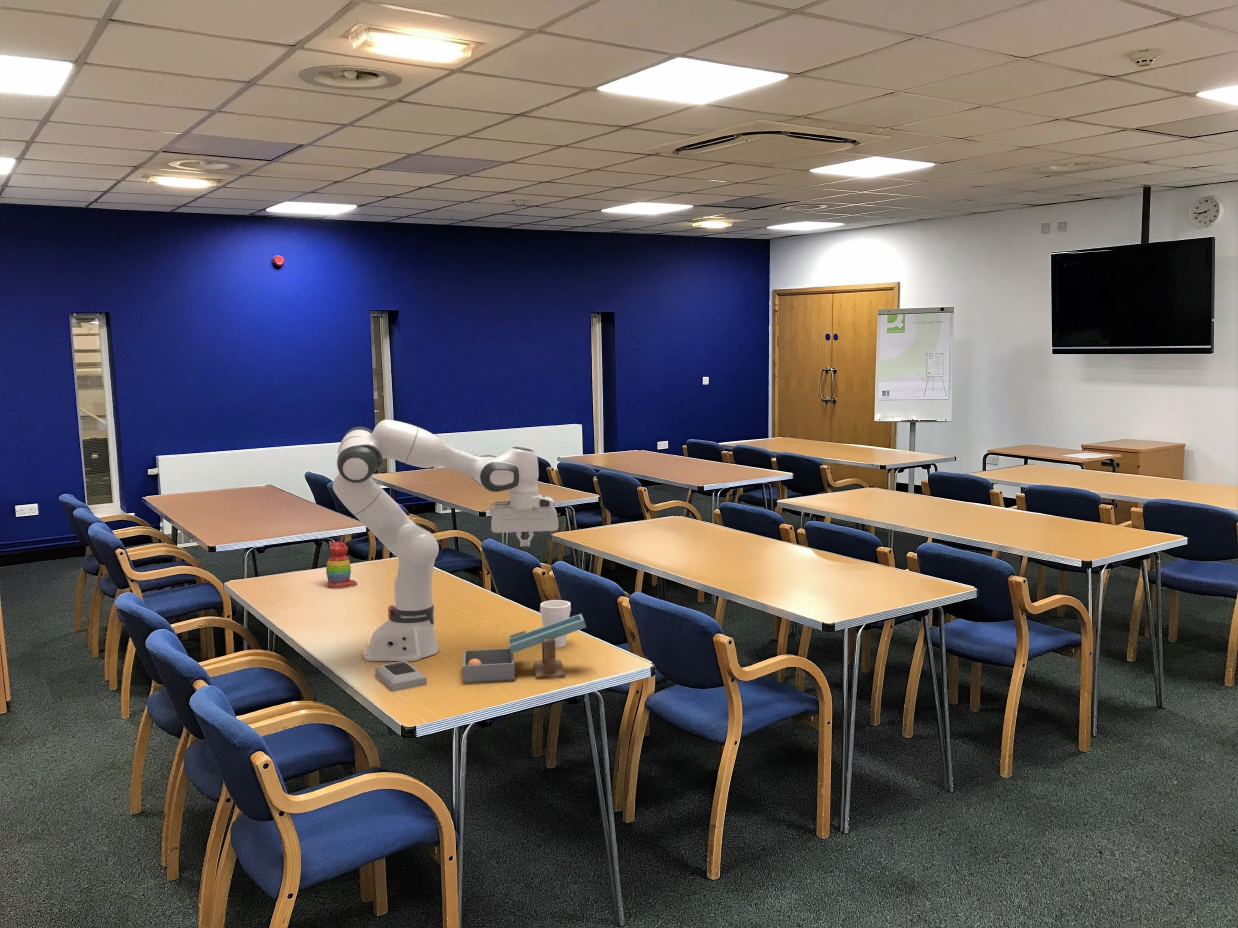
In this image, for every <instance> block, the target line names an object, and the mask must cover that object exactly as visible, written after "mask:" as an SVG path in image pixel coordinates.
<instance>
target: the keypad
mask: <svg viewBox="0 0 1238 928" xmlns="http://www.w3.org/2000/svg"><path fill="white" fill-rule="evenodd" d="M374 674H375V675H374V676H376V678H377V679H379V681H381V682H382V683H383V684H384V685H385V686H386V687H387V688H389V689H390V691H392V692H397V691H402V690H406V689H407V690H408V689H412V688H417V687H418V688H419V687H422V686H427V684H428V681H427V676H426V675H425V674H423V673H422V672H421V671H419V670H418V669H417V668H416V667H415V666H413V665H412V664H411V663H409V661H394V662H391V663H386V664H385V663H384V664H380V665H378V666H377V667H375V670H374Z"/></svg>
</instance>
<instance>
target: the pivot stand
mask: <svg viewBox="0 0 1238 928" xmlns="http://www.w3.org/2000/svg"><path fill="white" fill-rule="evenodd" d="M541 654H542V655H541V656H542V657H541V658H542V659H540V660H533V668H534V674H535V679H536V680H546V679H560V678H561V679H563V678H566V673H565V669H564V666H563V661H562V659H560V658H559V659H556V648H555V639H552V638H548V639H544V642H543V643H541Z"/></svg>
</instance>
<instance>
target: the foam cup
mask: <svg viewBox="0 0 1238 928" xmlns="http://www.w3.org/2000/svg"><path fill="white" fill-rule="evenodd" d="M539 605H540V606H539V611H540V614H541V615H540V616H541V620H542V621H541V623H542V627H544V626H547V625H550V624H553V623H556V622H559V621H562V620H564V619H567V618H570V617H571V616H570V615H571V610H572V608H571V602H570V601H568V600H561V599H560V600H559V599H550V600H546V601H543V602H541V603H540V604H539ZM567 641H568V634H566V635H563V636H560V637H557V638H555V649H558V648H563V647H565V646H567Z"/></svg>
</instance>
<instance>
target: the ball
mask: <svg viewBox="0 0 1238 928" xmlns="http://www.w3.org/2000/svg"><path fill="white" fill-rule="evenodd" d="M468 665H482V664H481V662H480V660H478V659H471V660H470V661H469V662H468Z"/></svg>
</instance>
